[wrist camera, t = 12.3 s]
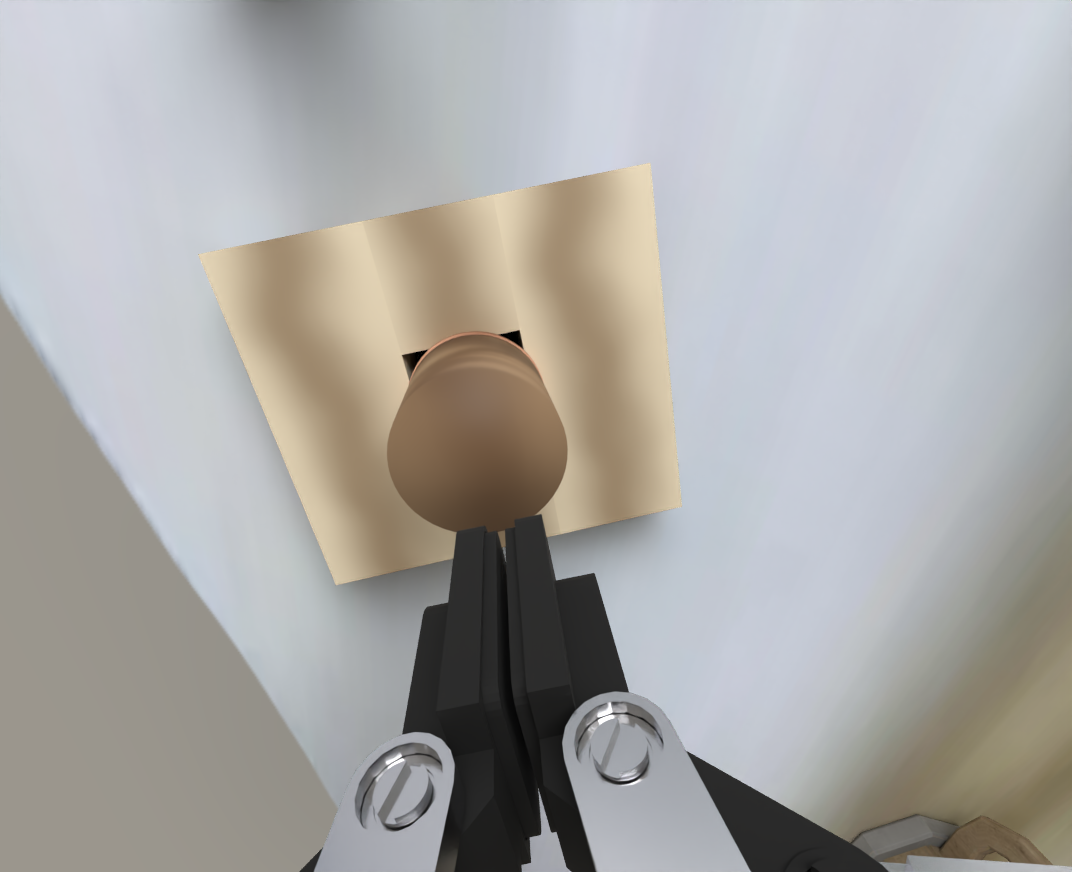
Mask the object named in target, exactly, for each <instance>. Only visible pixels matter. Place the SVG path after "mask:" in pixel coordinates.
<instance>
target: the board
mask: <svg viewBox="0 0 1072 872" xmlns="http://www.w3.org/2000/svg"><path fill="white" fill-rule="evenodd" d="M198 255H199V258H200V260H201V262H202V265H203V267H204V270H205V272H206V274H207V277H208V279H209V282H210V284H211V286H212V289H213V291H214V294H215V296H216V298H217V301H218V303H219V306H220V308H221V310H222V313H223V315H224V318H225V320H226V322H227V325H228V327H229V330H230V332H231V334H232V337H233V339H234V342H235V344H236V346H237V349H238V351H239V354H240V356H241V358H242V361H243V363H244V366H245V368H246V370H247V373H248V375H249V378H250V380H251V382H252V385H253V387H254V390H255V392H256V394H257V397H258V399H259V401H260V404H261V406H262V409H263V411H264V413H265V416H266V418H267V421H268V423H269V425H270V428H271V430H272V433H273V435H274V437H275V440H276V442H277V445H278V447H279V449H280V452H281V454H282V457H283V459H284V461H285V464H286V466H287V469H288V471H289V473H290V476H291V478H292V481H293V483H294V485H295V488H296V490H297V493H298V495H299V497H300V500H301V502H302V505H303V507H304V509H305V512H306V514H307V517H308V519H309V521H310V524H311V526H312V529H313V531H314V533H315V536H316V538H317V541H318V543H319V545H320V548H321V550H322V553H323V555H324V557H325V560H326V562H327V565H328V567H329V569H330V572H331V574H332V577H333V579H334V581H335V584H336V585H339V584H343V583H348V582H352V581H357V580H361V579H365V578H370V577H374V576H379V575H383V574H387V573H392V572H396V571H401V570H405V569H410V568H414V567H418V566H423V565H427V564H432V563H436V562H440V561H445V560H449V559H453V558H454V549H455V540H456V533H457V532H453V531H449V530H446V529H443V528H441V527H438V526H436V525H433V524H432V523H430V522H428V521H427V520H425V519H423V518H422V517H421V516H419V515H418V514H417V513H415V512H414V511H413V510H412V509H411V508H410V507H409V506H408V505H407V504H406V503H405V501H404V500H403V499H402V497H401V496H400V494H399V493H398V491H397V489H396V488H395V486H394V483H393V481H392V478H391V476H390V472H389V468H388V461H387V443H388V438H389V433H390V430H391V427H392V424H393V421H394V419H395V417H396V414H397V412H398V409H399V407H400V405H401V402H402V400H403V398H404V395H405V393H406V390H407V388H408V386H409V381H410V379H411V376H412V373H413V371H414V369H415V367H416V365H417V360H416V357H415V353H414V352H418V351H423V350H428V349H430V348H431V347H432V346H434V345H435V344H436V343H438V342H439V341H441V340H443V339H445V338H447V337H449V336H452V335H455V334H458V333H463V332H469V331H482V332H490V333H494V334H503V333H508V332H512V331H517V335H518V340H519V345H520V347H521V348H522V349H523V350H524V351H526V352H527V353H528V354H529V356H530V357H531V358H532V360H533V361H534V363H535V364H536V366H537V368H538V370H539V372H540V374H541V376H542V379H543V382H544V385H545V387H546V389H547V391H548V393H549V396H550V398H551V400H552V402H553V404H554V406H555V408H556V410H557V413H558V415H559V417H560V419H561V422H562V424H563V426H564V430H565V434H566V438H567V446H568V455H567V464H566V470H565V473H564V476H563V479H562V481H561V483H560V485H559V487H558V489H557V491H556V492H555V494H554V496H553V497H552V498H551V500H550V501H549V502H548V503H547V504H546V506H545V507H544V508H542V509H541V510H540V511H539V512H538V513H537V514H536V515H539V514H542V518H543V522H544V527H545V532H546V536H547V537H551V536H555V535H559V534H564V533H568V532H573V531H577V530H581V529H586V528H590V527H595V526H599V525H603V524H608V523H612V522H617V521H621V520H626V519H630V518H634V517H639V516H643V515H648V514H652V513H656V512H661V511H665V510H670V509H674V508H678V507H682V503H681V492H680V481H679V470H678V459H677V448H676V437H675V426H674V415H673V404H672V393H671V383H670V372H669V361H668V350H667V339H666V328H665V317H664V306H663V295H662V284H661V273H660V262H659V251H658V241H657V230H656V219H655V208H654V197H653V186H652V175H651V164H650V163H647V164H643V165H638V166H633V167H628V168H623V169H618V170H613V171H608V172H603V173H598V174H593V175H588V176H583V177H578V178H573V179H568V180H563V181H558V182H553V183H549V184H544V185H539V186H534V187H529V188H524V189H519V190H514V191H509V192H504V193H499V194H494V195H489V196H484V197H479V198H474V199H469V200H464V201H460V202H455V203H450V204H445V205H440V206H435V207H430V208H425V209H420V210H415V211H410V212H405V213H400V214H395V215H390V216H385V217H380V218H375V219H370V220H366V221H361V222H356V223H351V224H346V225H341V226H336V227H331V228H326V229H321V230H316V231H311V232H306V233H301V234H296V235H291V236H286V237H281V238H276V239H272V240H267V241H262V242H257V243H252V244H247V245H242V246H237V247H232V248H227V249H222V250H217V251H212V252H207V253H202V254H198ZM498 535H499V538H500V542H501V546H502V547H506V545H505V530H504V531H500V532H498Z"/></svg>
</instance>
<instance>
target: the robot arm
mask: <svg viewBox="0 0 1072 872" xmlns="http://www.w3.org/2000/svg"><path fill="white" fill-rule="evenodd" d="M514 523H515V527H512V528H507V529H505V545H506V562H505V558H504V554H503V550H502V546H501V542H500V538H499V535H498V532H497V531H492V532H488V531H487V529H486V526H480V527H475V528H470V529H465V530H460V531H457V533H456V540H455V549H454V558H453V566H452V575H451V584H450V593H449V601H448V603H444V604H439V605H434V606H429V607H427V608H426V609H425V611H424V614H423V619H422V625H421V630H420V636H419V642H418V648H417V653H416V659H415V665H414V670H413V676H412V682H411V688H410V693H409V699H408V705H407V711H406V716H405V722H404V728H403V734H402V735H399V736H397V737H395V738H393V739H391V740H389V741H387V742H385V743H383V744H382V745H380V746H379V747H378V748H377V749H375V750H374V751H373V752H372V753H370V754H369V755H368V756H367V757H366V759H365V760H364V761H363V762H362V763H361V765H360V766H359V767H358V768H357V769H356V771H355V773H354V775H353V776H352V778H351V780H350V782H349V784H348V786H347V788H346V790H345V793H344V796H343V798H342V801H341V803H340V806H339V808H338V811H337V814H336V816H335V819H334V821H333V824H332V826H331V829H330V831H329V834H328V837H327V839H326V842H325V844H324V847H323V848H322V849H321V850H320V851H319V852H318V853H317V854H316V855H315V856H314V857H313V858H312V859H311V860H310V862H308V863H307V864H306V866H305V867H304V868H303V869H302V870H301V871H300V872H522V868H521V865H523V864H527V863H531V855H530V838H529V837H533V836H538V835H541V818H540V805H539V793H538V788H539V792H540V795H541V799H542V802H543V806H544V809H545V812H546V816H547V819H548V823H549V826H550V830H551V832H552V833H553V832H557V835H558V838H559V842H560V845H561V849H562V852H563V856H564V860H565V863H566V867H567V868H568V869H569V870H570V871H571V872H1072V867H1068V866H1054V865H1040V864H1026V863H1012V862H998V861H984V860H970V859H956V858H942V857H928V856H914V855H907V860H906V864H902V863H889V862H877V861H876V860H875V859H873V858H872V857H870V856H869V855H868V854H866V853H865V852H863V851H862V850H861V849H859V848H857V847H856V846H854V845H852V844H850V843H849V842H847V841H845V840H843V839H842V838H840V837H838V836H836V835H834V834H833V833H831V832H829V831H827V830H826V829H824V828H822V827H820V826H818V825H817V824H815V823H813V822H811V821H810V820H808V819H806V818H804V817H803V816H801V815H799V814H797V813H795V812H794V811H792V810H790V809H788V808H787V807H785V806H783V805H781V804H780V803H778V802H776V801H774V800H772V799H771V798H769V797H767V796H765V795H764V794H762V793H760V792H758V791H757V790H755V789H753V788H751V787H749V786H748V785H746V784H744V783H742V782H741V781H739V780H737V779H735V778H733V777H732V776H730V775H728V774H726V773H725V772H723V771H721V770H719V769H718V768H716V767H714V766H712V765H710V764H709V763H707V762H705V761H703V760H702V759H700V758H698V757H696V756H695V755H693V754H691V753H689V752H687V751H686V750H685V748H684V746H683V744H682V742H681V741H680V739H679V737H678V735H677V733H676V731H675V729H674V728H673V726H672V724H671V722H670V721H669V719H668V718H667V717H666V715H665V714H664V713H663V711H662V710H661V709H660V708H659V707H658V706H656V705H655V704H654V703H652V702H651V701H650V700H648V699H647V698H644V697H641V696H639V695H636V694H633V693H629V691H628V687H627V684H626V680H625V677H624V673H623V670H622V667H621V663H620V660H619V656H618V653H617V649H616V646H615V642H614V639H613V635H612V632H611V628H610V625H609V621H608V618H607V614H606V611H605V608H604V604H603V601H602V597H601V594H600V590H599V587H598V583H597V580H596V577H595V574H594V573H592V574H587V575H582V576H577V577H572V578H567V579H562V580H557V581H556V579H555V574H554V569H553V564H552V560H551V555H550V550H549V546H548V541H547V536H546V532H545V527H544V522H543V518H542V514H539V515H534V516H529V517H524V518H519V519H515V520H514Z"/></svg>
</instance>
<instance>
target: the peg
mask: <svg viewBox="0 0 1072 872" xmlns="http://www.w3.org/2000/svg"><path fill="white" fill-rule="evenodd" d="M567 455H568V446H567V438H566V434H565V430H564V426H563V424H562V422H561V419H560V417H559V415H558V413H557V410H556V408H555V406H554V404H553V402H552V400H551V398H550V396H549V393H548V391H547V389H546V387H545V385H544V382H543V379H542V376H541V374H540V372H539V370H538V368H537V366H536V364H535V363H534V361H533V360H532V358H531V357H530V356H529V354H528V353H527V352H526V351H524V350H523V349H522V348H521V347H520V346H519V345H517V344H516V343H515V342H513V341H511V340H509V339H507V338H505V337H503V336H500V335H498V334H494V333H490V332H482V331H469V332H463V333H458V334H455V335H452V336H449V337H447V338H445V339H443V340H441V341H439V342H438V343H436V344H435V345H434V346H432V347H431V348H430V349H429V350H428V351H427V352H426V353H425V354H424V355H423V356H422V357H421V359H420V360H419V362H418V363H417V365H416V367H415V369H414V371H413V373H412V376H411V379H410V381H409V386H408V388H407V390H406V393H405V395H404V398H403V400H402V402H401V405H400V407H399V409H398V412H397V414H396V417H395V419H394V421H393V424H392V427H391V430H390V433H389V438H388V443H387V461H388V468H389V472H390V476H391V478H392V481H393V483H394V486H395V488H396V489H397V491H398V493H399V494H400V496H401V497H402V499H403V500H404V501H405V503H406V504H407V505H408V506H409V507H410V508H411V509H412V510H413V511H414V512H415V513H417V514H418V515H419V516H421V517H422V518H423V519H425V520H427V521H428V522H430V523H432V524H433V525H436V526H438V527H441V528H443V529H446V530H449V531H453V532H457V531H460V530H465V529H470V528H475V527H480V526H486V529H487V531H488V532H492V531H497V532H500V531H504V530H505V529H507V528H512V527H515V523H514V520H515V519H519V518H524V517H529V516H534V515H536V514H537V513H538V512H539V511H540V510H541V509H542V508H544V507H545V506H546V504H547V503H548V502H549V501H550V500H551V498H552V497H553V496H554V494H555V492H556V491H557V489H558V487H559V485H560V483H561V481H562V479H563V476H564V473H565V470H566V464H567Z"/></svg>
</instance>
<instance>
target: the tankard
mask: <svg viewBox="0 0 1072 872" xmlns="http://www.w3.org/2000/svg"><path fill="white" fill-rule="evenodd" d="M851 844H852V845H854V846H856V847H857V848H859V849H861V850H862V851H863V852H865V853H866V854H868V855H869V856H870V857H872V858H873V859H875V860H876V861H877V862H889V863H902V864H906V860H907V855H914V856H928V857H942V858H956V859H970V860H983V858H984V857H985V856H986V855H987V854H990V853H993V852H997V853H998V854H1000V855H1001V856H1003V857H1005V858H1006V859H1008V861H1009V862H1012V863H1026V864H1040V865H1053V864H1052V863H1051V862H1050V861H1049V860H1048V859H1047V858H1046V857H1045V856H1044V855H1043V854H1042V853H1041V852H1040V851H1039V850H1038V849H1037V848H1036V847H1035V846H1034V845H1033V844H1032V843H1031V842H1030V840H1029V839H1027V838H1025V837H1023V836H1022V835H1020V834H1018V833H1016V832H1014V831H1012V830H1010V829H1008V828H1007V827H1005V826H1003V825H1001V824H999V823H997V822H995V821H994V820H992V819H990V818H988V817H984V816H979V817H978V818H976V819H974V820H972V821H970V822H968V823H967V824H965V825H963V826H961V827H959V826H956V825H952V824H949V823H945V822H942V821H938V820H934V819H931V818H927V817H924V816H920V815H917V814H916V815H913V816H910V817H907V818H904V819H901V820H898V821H895V822H892V823H889V824H886V825H883V826H880V827H877V828H874V829H871V830H868V831H865V832H862V833H861V834H860V835H859V836H858V837H857V838H856V839H855V840H854V841H853V842H852V843H851Z"/></svg>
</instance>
